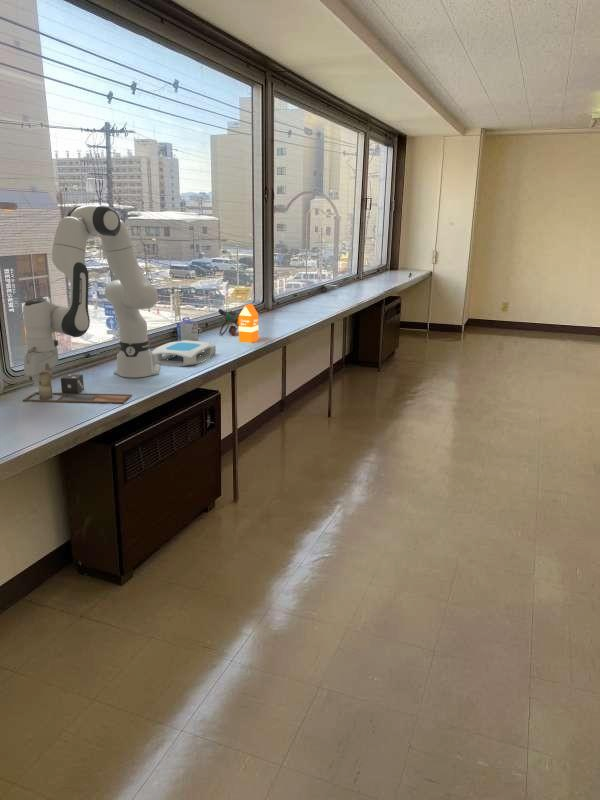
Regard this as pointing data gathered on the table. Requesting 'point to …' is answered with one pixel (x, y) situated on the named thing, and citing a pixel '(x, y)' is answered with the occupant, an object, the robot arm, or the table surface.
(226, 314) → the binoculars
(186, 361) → the white step stool
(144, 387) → the table surface
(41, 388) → the pawn
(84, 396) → the board
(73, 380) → the die
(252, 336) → the orange juice
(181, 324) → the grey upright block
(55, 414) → the table surface
